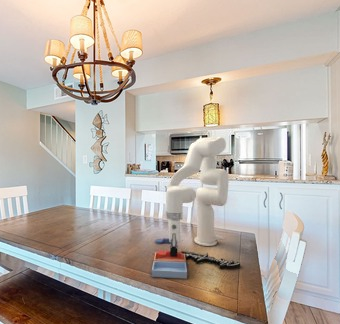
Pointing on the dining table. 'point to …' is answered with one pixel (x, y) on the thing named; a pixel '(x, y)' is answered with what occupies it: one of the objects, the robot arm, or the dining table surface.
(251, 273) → the dining table surface
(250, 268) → the dining table surface
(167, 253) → the red spoon
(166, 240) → the blue spoon
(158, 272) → the blue bin
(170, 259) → the red bin
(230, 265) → the nameplate
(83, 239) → the dining table surface
